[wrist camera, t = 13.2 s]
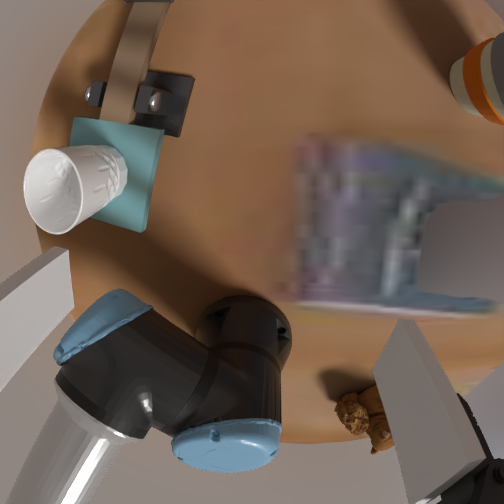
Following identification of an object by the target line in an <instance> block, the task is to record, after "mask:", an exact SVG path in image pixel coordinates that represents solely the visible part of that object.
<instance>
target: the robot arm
mask: <svg viewBox="0 0 504 504" xmlns="http://www.w3.org/2000/svg"><path fill="white" fill-rule="evenodd" d="M73 308H74V300H73V292H72V284H71V274H70V263H69V250H68V249H64V248H61V247H57V246H54V247H52V248H51V249H49V250H48V251H46V252H45V253H43V254H42V255H40V256H39V257H37V258H36V259H35V260H33V261H32V262H30V263H29V264H27V265H26V266H24V267H23V268H21V269H20V270H19V271H17V272H16V273H15V274H13V275H12V276H10V277H9V278H8V279H6V280H5V281H3V282H2V283H1V284H0V392H1V390H2V389H3V388H4V387H5V385H6V384H7V383H8V382H9V380H10V379H11V378H12V377H13V375H14V374H15V373H16V372H17V370H18V369H19V368H20V367H21V366H22V365H23V363H24V362H25V361H26V360H27V359H28V357H29V356H30V355H31V354H32V353H33V352H34V351H35V349H36V348H37V347H38V346H39V345H40V344H41V342H42V341H43V340H44V339H45V338H46V337H47V336H48V335H49V334H50V332H51V331H52V330H53V329H54V328H55V327H56V326H57V325H58V324H59V323H60V322H61V321H62V319H64V317H65V316H66V315H67V314H68V313H69V312H70V311H71V310H72V309H73ZM153 309H154V307H153V306H151V305H147V304H146V303H144V302H143V301H141V300H140V299H138V298H137V297H135V296H134V295H132V294H131V293H129V292H127V291H125V290H122V289H116V290H112V291H110V292H108V293H106V294H105V295H103V296H102V297H101V298H99V299H98V300H97V301H96V302H95V303H93V304H92V305H91V306H90V307H89V308H88V309H87V310H86V311H85V312H84V313H83V314H82V315H81V316H80V317H79V318H78V319H77V320H76V322H75V323H74V324H73V325H72V326H71V327H70V328H69V330H68V331H67V332H66V333H65V335H64V336H63V338H62V339H61V341H60V343H59V345H58V346H57V347H56V348H55V350H54V354H53V357H54V359H55V360H56V363H57V364H58V365H59V366H62V368H61V369H60V371H59V373H58V374H57V376H56V378H55V380H54V383H55V387H56V390H57V394H58V401H57V403H56V405H55V407H54V408H53V410H52V412H51V414H50V415H49V417H48V419H47V421H46V423H45V424H44V426H43V428H42V430H41V432H40V434H39V435H38V437H37V439H36V441H35V443H34V445H33V447H32V449H31V451H30V453H29V455H28V457H27V459H26V461H25V463H24V465H23V467H22V469H21V471H20V473H19V475H18V477H17V479H16V482H15V484H14V486H13V488H12V490H11V493H10V495H9V497H8V499H7V502H6V504H88V503H89V501H90V499H91V498H92V496H93V494H94V492H95V491H96V489H97V487H98V486H99V484H100V483H101V481H102V479H103V477H104V476H105V474H106V473H107V471H108V469H109V468H110V466H111V464H112V463H113V461H114V459H115V458H116V456H117V454H118V453H119V451H120V449H121V448H122V446H123V445H124V444H126V443H132V442H138V441H142V440H143V439H144V437H145V436H146V434H147V432H148V431H149V429H150V428H151V427H154V428H156V429H158V430H160V431H162V432H163V433H166V434H167V435H169V436H171V437H173V440H172V442H171V445H172V451H173V454H174V455H175V456H176V457H177V458H178V459H179V460H180V461H182V462H183V463H185V464H187V465H189V466H192V467H195V468H198V469H202V470H206V471H213V472H242V471H248V470H252V469H256V468H259V467H261V466H263V465H265V464H267V463H268V462H270V461H271V460H272V459H273V458H274V457H275V455H276V454H277V452H278V449H279V442H280V433H281V431H282V426H281V371H282V369H283V367H284V365H285V363H286V361H287V358H288V356H289V354H290V351H291V347H292V333H291V327H290V324H289V322H288V320H287V318H286V317H285V315H284V314H283V313H282V312H281V311H280V310H279V309H278V308H277V307H275V306H274V305H272V304H271V303H269V302H267V301H265V300H262V299H259V298H255V297H250V296H233V297H227V298H224V299H221V300H219V301H217V302H215V303H213V304H212V305H211V306H209V307H208V308H207V309H206V310H205V311H204V313H203V314H202V316H201V318H200V321H199V323H198V326H197V329H196V339H195V338H194V337H192V336H191V335H189V334H188V333H186V332H185V331H183V330H182V329H180V328H179V327H177V326H176V325H174V324H173V323H171V322H170V321H169V320H167V319H166V318H164V317H163V316H162V315H160V314H159V313H158V312H156V311H155V310H153ZM372 372H373V375H374V378H375V381H376V384H377V387H378V391H379V394H380V397H381V400H382V403H383V407H384V410H385V413H386V417H387V420H388V423H389V427H390V430H391V434H392V438H393V441H394V445H395V449H396V452H397V456H398V460H399V464H400V467H401V472H402V476H403V480H404V484H405V489H406V493H407V498H408V502H409V504H425V503H428V502H430V501H431V500H433V499H434V498H436V497H437V496H439V495H441V499H442V500H441V501H440V502H438V503H437V504H504V459H500V458H498V459H494V458H493V456H492V454H491V452H490V449H489V447H488V445H487V443H486V440H485V438H484V436H483V434H482V431H481V429H480V427H479V426H477V421H476V419H475V417H473V413H472V411H471V409H470V407H469V405H468V403H467V402H466V401H465V400H464V399H463V398H462V397H461V396H460V394H459V393H456V392H455V390H454V388H453V387H452V385H451V383H450V381H449V379H448V377H447V375H446V374H445V372H444V370H443V368H442V366H441V365H440V363H439V361H438V359H437V357H436V356H435V354H434V352H433V351H432V349H431V347H430V345H429V344H428V342H427V340H426V339H425V337H424V335H423V334H422V332H421V330H420V329H419V327H418V326H417V324H416V322H415V321H413V320H406V319H399V320H398V322H397V324H396V326H395V328H394V330H393V332H392V334H391V336H390V338H389V340H388V342H387V344H386V345H385V347H384V349H383V351H382V353H381V355H380V356H379V358H378V360H377V362H376V364H375V365H374V367H373V369H372Z"/></svg>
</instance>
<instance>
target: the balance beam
mask: <svg viewBox="0 0 504 504" xmlns="http://www.w3.org/2000/svg"><path fill="white" fill-rule="evenodd" d="M124 1H126V2H127V3H129V2H134V4H133V7H132V9H131V12H130V14H129V17H128V20H127V22H126V25H125V28H124V31H123V33H122V36H121V39H120V42H119V45H118V49H117V52H116V55H115V58H114V62H113V65H112V69H111V72H110V76H109V80H108V83H107V87H106V91H105V95H104V100H103V104H102V109H101V113H100V118H99V119H97V118H89V117H81V116H78V117H74V118H73V124H72V129H71V136H70V142H69V146H80V145H82V146H83V145H95V146H96V145H107V146H110V147H113V148H116V150H117V151H118V152H119V153H120V154H121V155H122V156H123V157H124V160H125V163H126V166H127V169H128V173H127V183H126V185H125V187H124V190H123V192H122V194H120V195H119V196H118V197H116V198H115V199H114V200H113V201H111V202H109V203H108V204H107V205H106V206H105V207H103V208H102V209H100V210H99V211H97V212H96V213H94V214H93V215H92V216H90V218H93V219H96V220H99V221H103V222H106V223H109V224H113V225H116V226H119V227H123V228H126V229H129V230H133V231H136V232H139V233H142V232H143V231H144V230H145V229H146V226H147V219H148V213H149V206H150V200H151V195H152V189H153V184H154V178H155V173H156V168H157V163H158V158H159V154H160V149H161V144H162V140H163V136H164V131H165V130H163V129H158V128H153V127H147V126H142V125H136V124H134V121H135V116H136V112H134V108H135V104H136V100H137V96H138V92H139V88H140V85H141V86H143V84H144V81H145V77H146V74H147V70H148V67H149V64H150V60H151V57H152V54H153V51H154V48H155V45H156V42H157V39H158V36H159V33H160V30H161V27H162V24H163V22H164V19H165V16H166V14H167V11H168V9H169V6H170V3H173V2H174V0H124Z"/></svg>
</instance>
